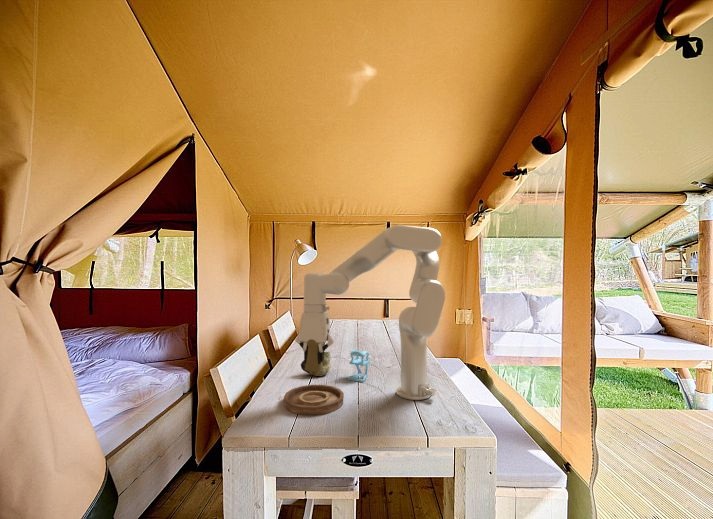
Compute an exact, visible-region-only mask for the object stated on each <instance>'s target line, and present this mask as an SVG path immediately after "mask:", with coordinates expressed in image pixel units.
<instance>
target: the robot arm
mask: <svg viewBox="0 0 713 519" xmlns="http://www.w3.org/2000/svg"><path fill="white" fill-rule="evenodd" d="M442 243H443V238H442V235H441V233H440V232H439V231H438V230H437V229H435V228H432V227H425V226H414V225H404V224H396V225H393V226H390V227H387V228H386V229H384V230H383V231H382V232H380V233H379V234H378V235H376V236H375V237H374V238H373V239H372V240H370V241H369V242H368V243H367V244H365V245H364V246H363V247H361V248H359V250H357V251H356V252H355V253H354V254H352V255H351V256H350V257H349V258H347V259H346V260H345V261H343V262H342V263H341V264H339V265H337V267H336V268H334V269H333V270H331V272H329V273H327V274H324V273H318V272H313V273H312V272H310V273H309V272H308V273H305V274H304V277H303V312H302V313H301V317H300V320H299V321H300V322H299V330H298V334H297V336H296V338H295V339H294V341H295V343H297V344H298V345H299V346H300V347H301V348H302V351H303V354H304V355H303V360H305V363H306V361H307V352H308V345H307V342H308V340H310V339H312V340H315V341H316V342H317V343H319V344H318V346H319V352H318V364H321V362H323V361H324V352H326V350H327V349H328V348H329V347H330V346H332V345H333V344H334V343H335V342H334V341H335V340H333V338H332V336H331V324H330V323H331V322H330V316H329V313H328V312H327V311H330V306H329V305H327V302H326V301H327V300H326V299H327V298H326V297H327V294H328V295H335V296H336V295H337V296H339V295H343V294H346V292H348V290H349V287H350V283H351V282H352V281H354V279H356V278H357V277H359V276H360V275H363V274H365V273H368V272H371V271H372V270H374V269H375V268H376V267H378V266H379V265H380V264H382V263H383V262H384V261H385V260H387V259H388V258H389V257H390V256H392V255H393V254H394V253H395V252H397V251H398V250H406V251H411V252H412V253H413V255H414V258H415V262H416V265H415V269H414V273H413V277H412V279H411V280H412V281H411V284H410V288H409V292H408V293H409V294H408V295H409V298H410V301H412V302H414V303H415V304H416V305H415V306H408V307H404V309H403V310H402V311H401V312H400V314H399V316H398V328H399V335H400V336H399V338H400V385H399V386H397V388H396V395H397V396H399V397H401V398H403V399H406V400H407V399H408V400H411V401H412V400H413V401H420V400H426V399H429V398H430V397H435V394H436V391H437V390H436V388H434V387H431V386H430V382H428V362H427V361H428V359H427V358H428V356H427V354H428V350H427V349H428V344H427V339H428V338H430V337H432V336H433V335H434V334H435V333H436V331H437V329H438V326H439V323H440V319H441V316H442V312H443V309H444V306H445V300H446V292H445V288H444V286H443V284H442V283H441V282H439V281H438V278H439V276H438V275H439V271H440V258H439V255H438V253H437V251H438V250H439V249H440V248H441V246H442ZM326 342H327V343H326ZM325 343H326V344H325Z"/></svg>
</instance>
